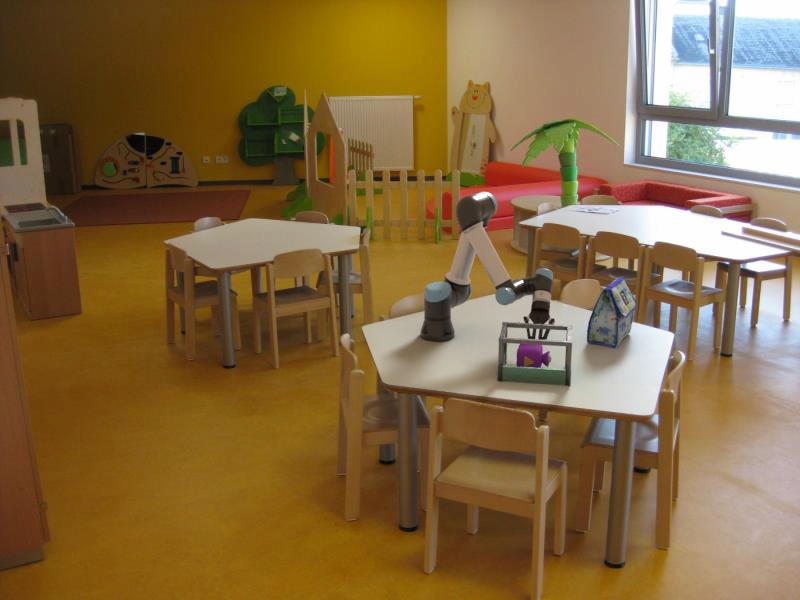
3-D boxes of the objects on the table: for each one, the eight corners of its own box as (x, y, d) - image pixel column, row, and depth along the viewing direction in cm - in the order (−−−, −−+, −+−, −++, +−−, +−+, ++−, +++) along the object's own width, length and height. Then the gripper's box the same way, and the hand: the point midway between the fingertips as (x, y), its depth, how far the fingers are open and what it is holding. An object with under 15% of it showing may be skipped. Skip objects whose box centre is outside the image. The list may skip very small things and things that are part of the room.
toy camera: (551, 374, 333) (552, 350, 330) (516, 373, 335) (517, 349, 332) (549, 363, 344) (550, 340, 341) (515, 363, 345) (515, 340, 342)
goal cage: (497, 381, 327) (498, 338, 322) (501, 362, 346) (502, 321, 341) (570, 386, 322) (572, 342, 317) (570, 366, 341) (572, 325, 336)
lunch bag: (622, 350, 359) (627, 290, 351) (584, 344, 367) (587, 285, 359) (636, 334, 377) (640, 277, 370) (599, 329, 385) (602, 273, 378)
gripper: (524, 298, 351) (517, 350, 340) (556, 300, 348) (550, 352, 337) (525, 306, 357) (519, 358, 347) (557, 309, 354) (551, 360, 344)
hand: (534, 355), depth 342 cm, fingers closed
